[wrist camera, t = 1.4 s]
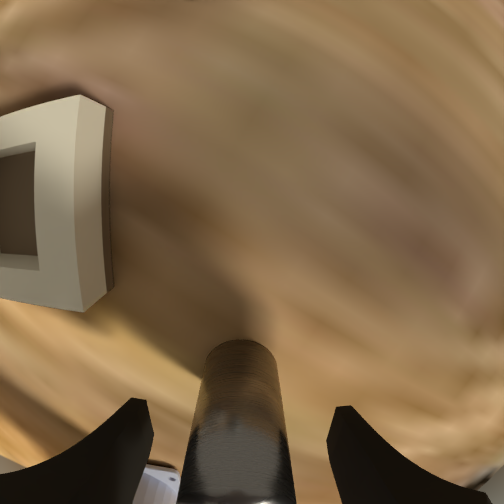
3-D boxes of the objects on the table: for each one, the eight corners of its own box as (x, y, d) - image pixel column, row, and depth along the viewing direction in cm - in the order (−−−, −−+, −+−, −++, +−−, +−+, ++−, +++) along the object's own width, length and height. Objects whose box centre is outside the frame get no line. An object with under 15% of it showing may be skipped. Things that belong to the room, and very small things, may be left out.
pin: (274, 397, 14) (289, 531, 6) (206, 394, 14) (183, 527, 6) (280, 340, 13) (306, 486, 6) (204, 337, 13) (166, 480, 6)
